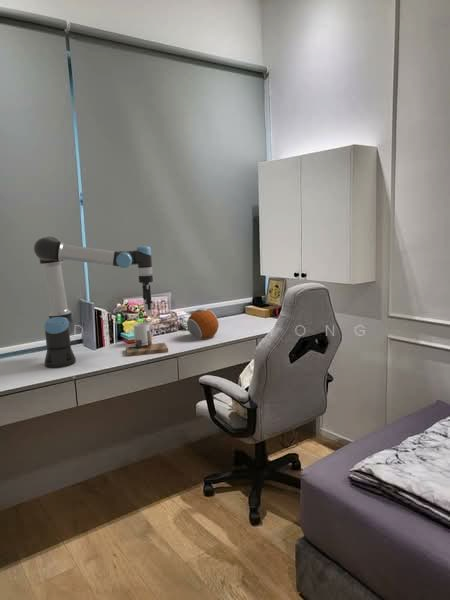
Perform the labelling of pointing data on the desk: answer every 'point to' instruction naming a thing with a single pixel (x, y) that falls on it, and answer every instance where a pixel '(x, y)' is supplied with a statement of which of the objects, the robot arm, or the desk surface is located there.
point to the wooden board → (147, 349)
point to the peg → (139, 342)
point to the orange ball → (202, 324)
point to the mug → (142, 332)
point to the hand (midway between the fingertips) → (148, 313)
